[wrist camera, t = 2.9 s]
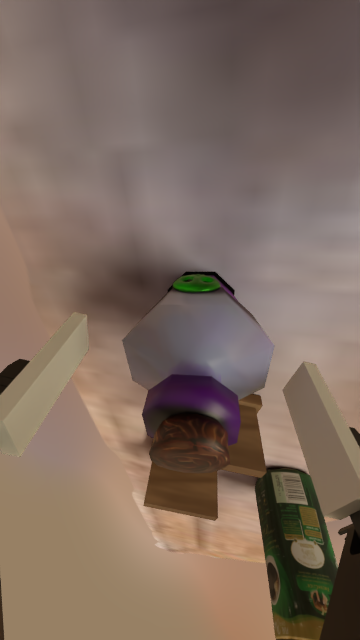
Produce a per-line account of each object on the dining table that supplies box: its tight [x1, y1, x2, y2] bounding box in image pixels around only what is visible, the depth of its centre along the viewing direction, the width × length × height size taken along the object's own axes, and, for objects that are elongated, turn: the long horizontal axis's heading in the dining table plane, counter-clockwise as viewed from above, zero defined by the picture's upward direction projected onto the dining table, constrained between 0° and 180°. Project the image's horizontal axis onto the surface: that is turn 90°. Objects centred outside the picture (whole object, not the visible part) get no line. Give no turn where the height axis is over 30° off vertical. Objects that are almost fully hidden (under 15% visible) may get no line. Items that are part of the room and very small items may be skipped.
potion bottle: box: [122, 272, 274, 473], centre depth 14 cm, size 9×9×12 cm
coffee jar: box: [255, 468, 338, 640], centre depth 28 cm, size 10×8×19 cm
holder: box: [144, 394, 267, 521], centre depth 26 cm, size 17×10×7 cm, turn 169°
